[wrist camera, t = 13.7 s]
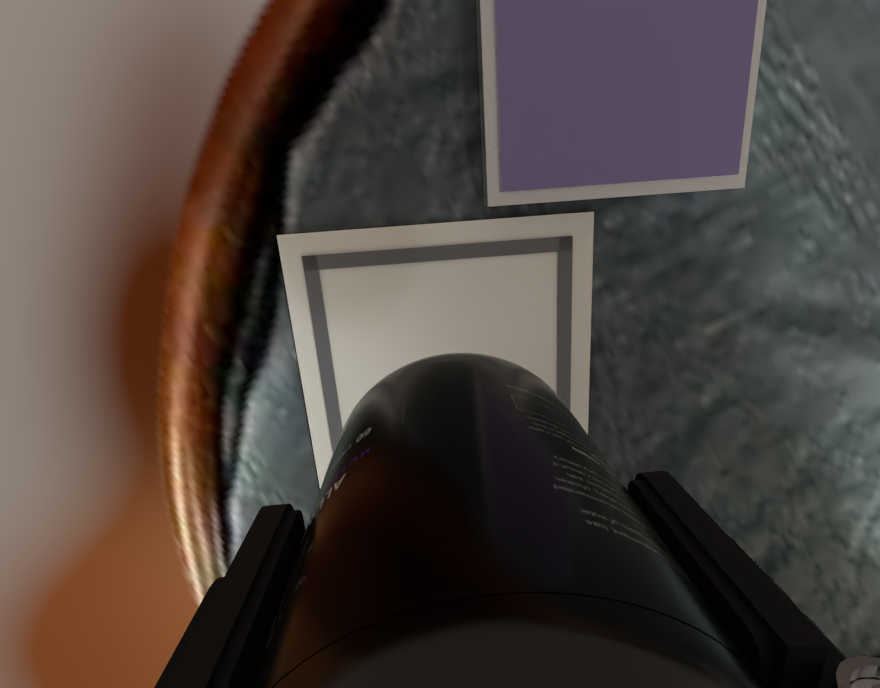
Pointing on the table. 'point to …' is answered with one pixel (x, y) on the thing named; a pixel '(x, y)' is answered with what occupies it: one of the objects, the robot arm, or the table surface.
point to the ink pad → (615, 96)
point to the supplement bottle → (485, 553)
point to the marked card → (437, 306)
